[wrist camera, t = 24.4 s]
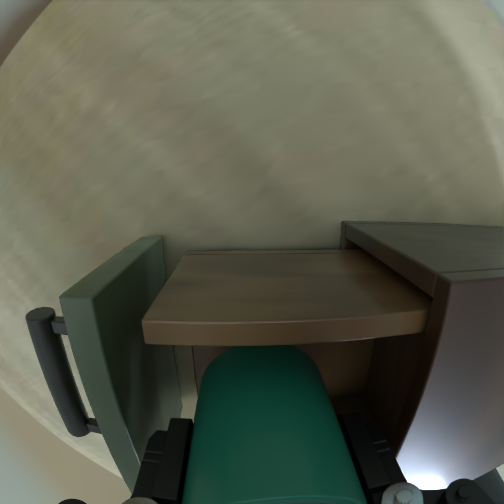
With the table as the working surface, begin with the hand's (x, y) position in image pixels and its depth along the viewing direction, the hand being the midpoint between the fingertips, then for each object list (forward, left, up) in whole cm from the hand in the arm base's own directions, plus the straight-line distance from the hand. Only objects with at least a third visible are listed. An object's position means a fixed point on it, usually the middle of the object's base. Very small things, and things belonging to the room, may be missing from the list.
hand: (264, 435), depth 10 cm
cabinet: (+11, +5, -9) cm, 15 cm away
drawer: (-1, -1, -8) cm, 8 cm away
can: (0, 0, -3) cm, 3 cm away
